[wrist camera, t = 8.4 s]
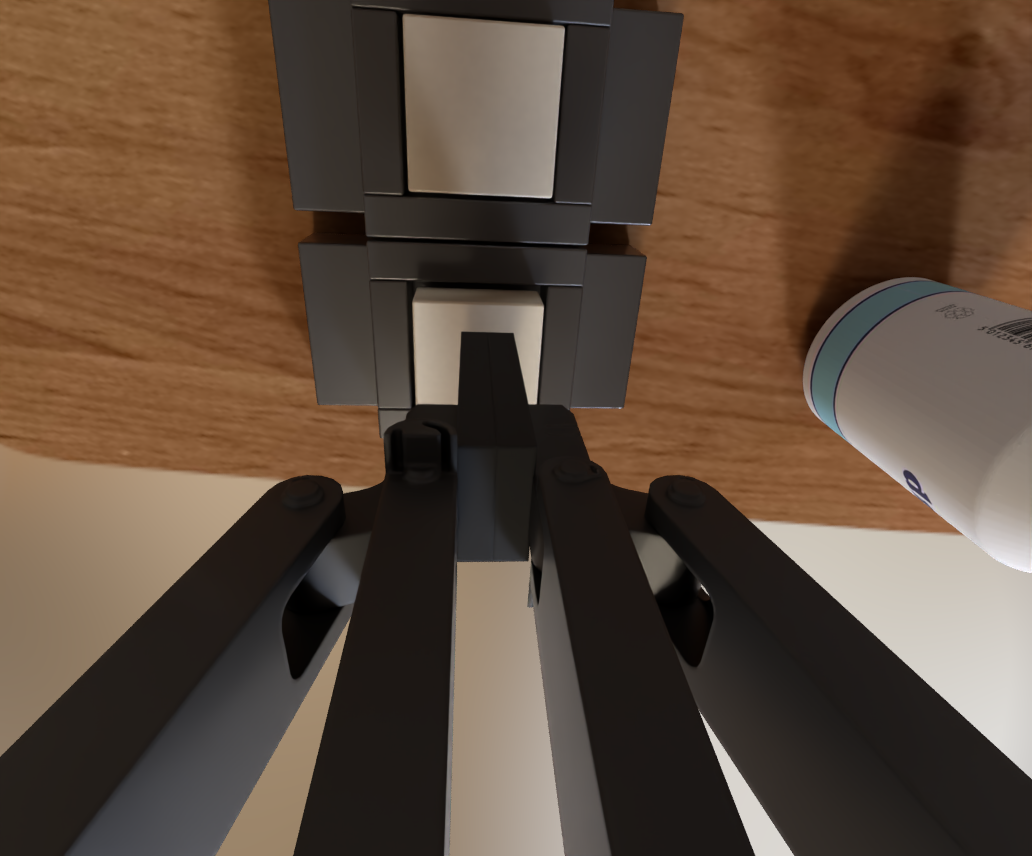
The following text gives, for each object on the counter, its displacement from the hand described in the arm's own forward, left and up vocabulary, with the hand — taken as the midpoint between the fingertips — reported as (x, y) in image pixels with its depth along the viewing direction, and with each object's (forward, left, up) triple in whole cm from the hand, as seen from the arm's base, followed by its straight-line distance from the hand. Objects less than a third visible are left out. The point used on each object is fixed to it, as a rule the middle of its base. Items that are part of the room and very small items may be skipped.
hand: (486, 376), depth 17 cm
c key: (0, -7, -3) cm, 8 cm away
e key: (0, 0, -3) cm, 3 cm away
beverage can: (-17, +1, -7) cm, 18 cm away
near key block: (0, -7, -7) cm, 10 cm away
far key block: (0, 0, -7) cm, 7 cm away
